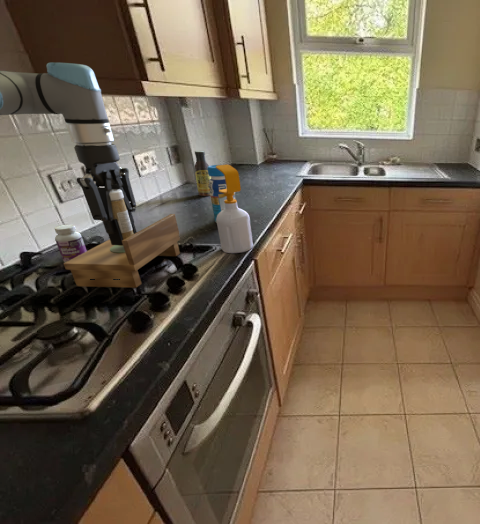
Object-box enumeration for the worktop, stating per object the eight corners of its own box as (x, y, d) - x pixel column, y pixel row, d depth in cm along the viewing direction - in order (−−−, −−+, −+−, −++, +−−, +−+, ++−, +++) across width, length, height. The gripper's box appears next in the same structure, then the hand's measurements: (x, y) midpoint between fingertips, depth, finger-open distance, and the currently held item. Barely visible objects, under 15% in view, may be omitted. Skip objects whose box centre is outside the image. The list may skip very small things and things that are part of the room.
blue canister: (218, 217, 127) (209, 164, 118) (241, 217, 128) (233, 164, 119) (211, 224, 119) (200, 168, 111) (235, 224, 120) (226, 168, 111)
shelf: (72, 286, 78) (53, 239, 73) (128, 252, 96) (115, 212, 91) (141, 287, 78) (127, 240, 73) (184, 253, 96) (174, 214, 91)
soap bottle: (241, 240, 107) (229, 161, 96) (259, 247, 102) (249, 165, 91) (215, 248, 100) (200, 165, 89) (233, 256, 95) (219, 169, 85)
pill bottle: (64, 266, 87) (50, 231, 83) (63, 259, 91) (50, 226, 87) (90, 260, 90) (78, 227, 86) (88, 254, 94) (76, 222, 90)
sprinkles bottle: (111, 244, 83) (93, 191, 77) (128, 238, 87) (113, 187, 81) (123, 247, 81) (106, 193, 76) (141, 241, 85) (126, 189, 80)
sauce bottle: (199, 197, 153) (190, 152, 144) (198, 194, 157) (189, 150, 149) (214, 195, 156) (207, 151, 147) (213, 192, 160) (205, 150, 152)
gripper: (80, 148, 66) (116, 255, 76) (136, 140, 82) (159, 229, 92) (42, 147, 66) (83, 254, 76) (105, 139, 82) (132, 228, 92)
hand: (125, 240), depth 84 cm, fingers closed on sprinkles bottle, 4 cm apart
